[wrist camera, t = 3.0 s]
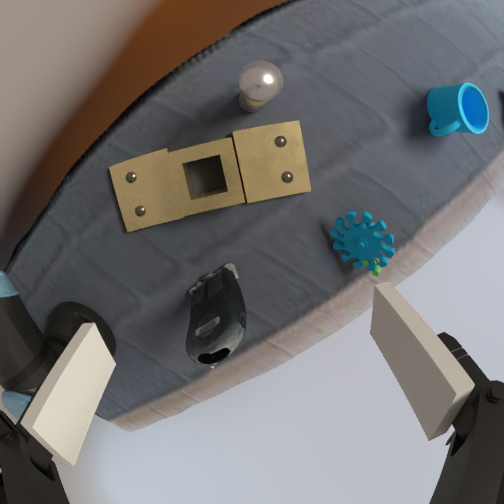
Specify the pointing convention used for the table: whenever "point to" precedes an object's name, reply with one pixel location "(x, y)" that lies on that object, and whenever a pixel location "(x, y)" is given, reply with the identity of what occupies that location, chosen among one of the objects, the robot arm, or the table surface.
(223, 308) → the electronic device
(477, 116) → the mug
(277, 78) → the hinge pin
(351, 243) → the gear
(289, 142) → the hinge leaves
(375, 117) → the table surface
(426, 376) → the robot arm
